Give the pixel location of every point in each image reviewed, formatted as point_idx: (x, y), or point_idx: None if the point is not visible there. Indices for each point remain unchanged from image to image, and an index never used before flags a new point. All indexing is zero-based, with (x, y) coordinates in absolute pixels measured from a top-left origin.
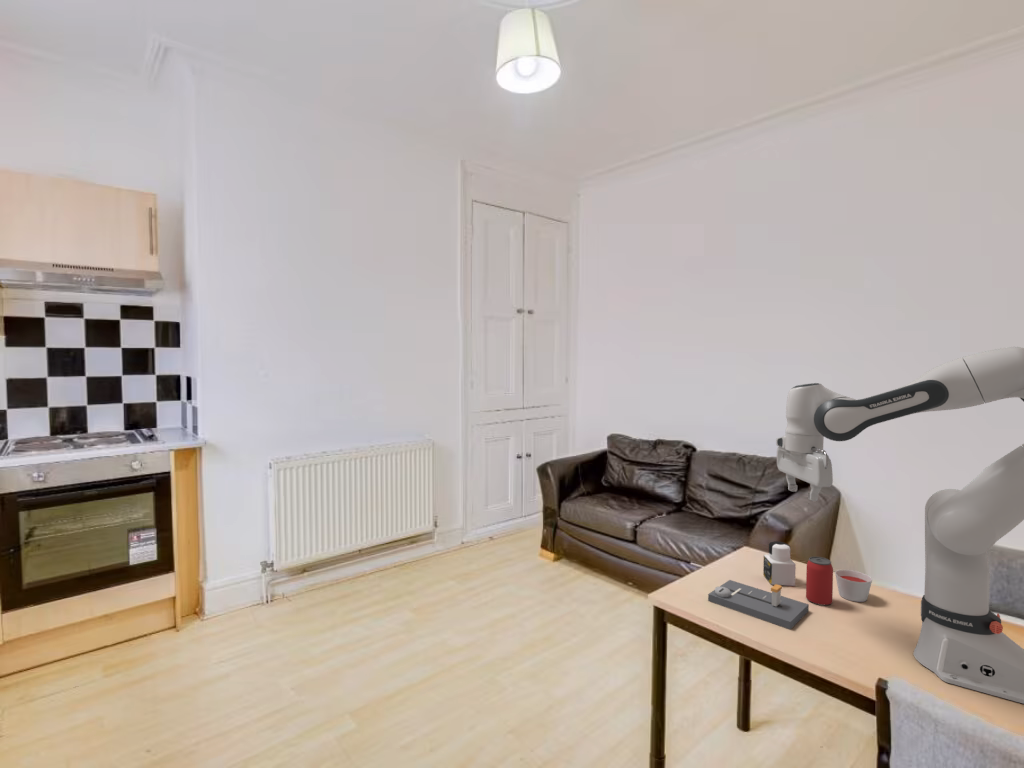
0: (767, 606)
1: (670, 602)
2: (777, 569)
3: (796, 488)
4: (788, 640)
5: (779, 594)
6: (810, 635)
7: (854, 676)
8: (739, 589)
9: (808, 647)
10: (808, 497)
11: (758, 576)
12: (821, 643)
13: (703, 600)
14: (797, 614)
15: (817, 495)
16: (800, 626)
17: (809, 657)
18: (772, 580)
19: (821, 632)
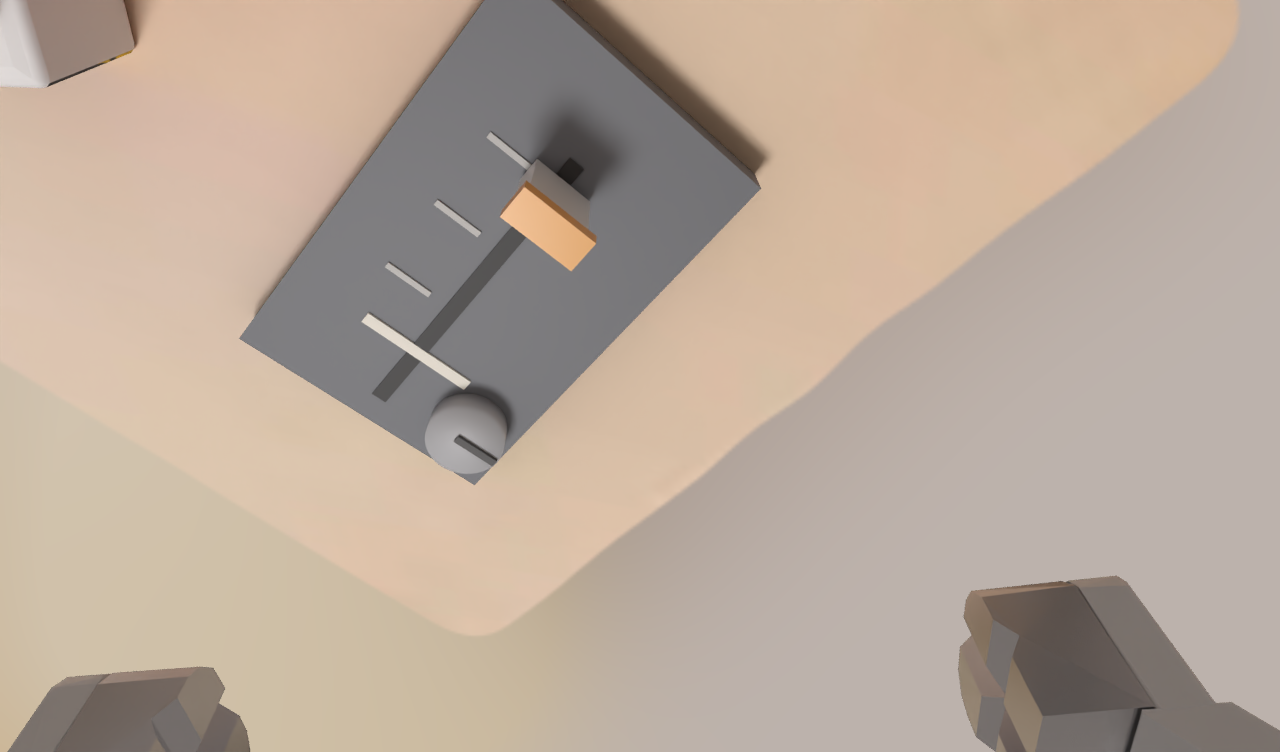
0: None
1: (526, 602)
2: (64, 27)
3: (167, 730)
4: (860, 226)
5: (548, 191)
6: (814, 89)
7: (1194, 52)
8: (379, 326)
9: (929, 156)
10: (997, 732)
11: None
12: (897, 68)
13: None
14: (666, 108)
15: (1186, 684)
16: (716, 101)
17: (1013, 191)
18: (119, 48)
19: (781, 7)
